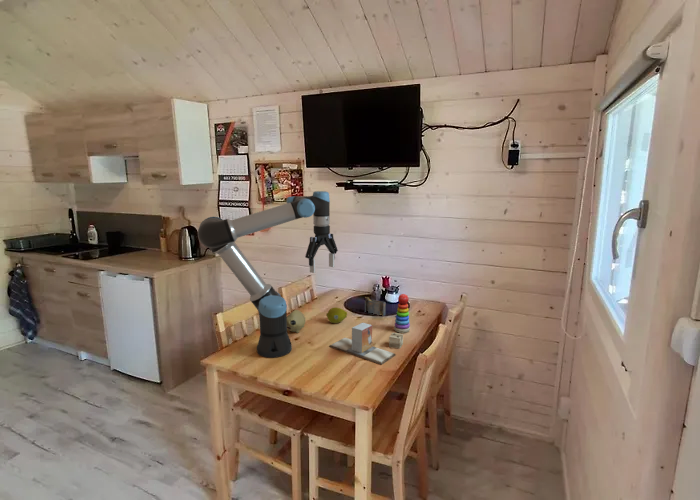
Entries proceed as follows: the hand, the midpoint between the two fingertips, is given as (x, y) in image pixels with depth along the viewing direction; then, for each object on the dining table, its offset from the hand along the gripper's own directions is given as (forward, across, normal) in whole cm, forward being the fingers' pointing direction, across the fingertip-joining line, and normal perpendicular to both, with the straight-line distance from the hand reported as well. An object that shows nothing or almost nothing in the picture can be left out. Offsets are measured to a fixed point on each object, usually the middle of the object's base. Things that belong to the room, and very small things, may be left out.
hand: (322, 269), depth 196 cm
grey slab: (+32, +37, -5) cm, 49 cm away
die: (+32, +9, -36) cm, 49 cm away
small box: (+31, -5, -27) cm, 41 cm away
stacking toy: (+32, +26, -29) cm, 50 cm away
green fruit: (+32, +14, +3) cm, 35 cm away
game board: (+32, -5, -27) cm, 42 cm away
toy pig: (+32, -8, +12) cm, 35 cm away
